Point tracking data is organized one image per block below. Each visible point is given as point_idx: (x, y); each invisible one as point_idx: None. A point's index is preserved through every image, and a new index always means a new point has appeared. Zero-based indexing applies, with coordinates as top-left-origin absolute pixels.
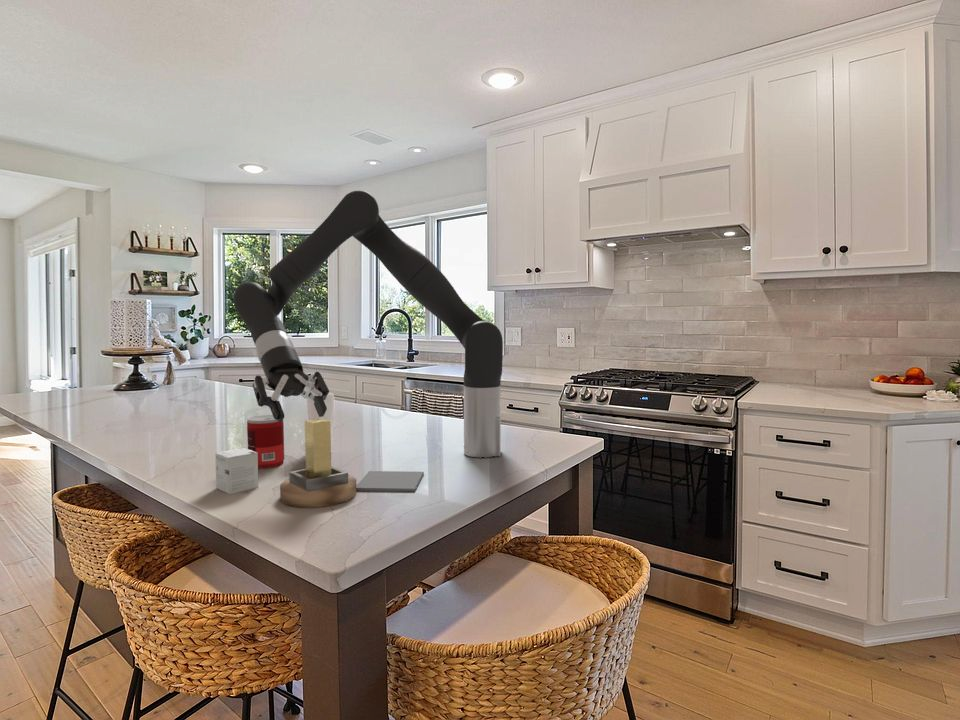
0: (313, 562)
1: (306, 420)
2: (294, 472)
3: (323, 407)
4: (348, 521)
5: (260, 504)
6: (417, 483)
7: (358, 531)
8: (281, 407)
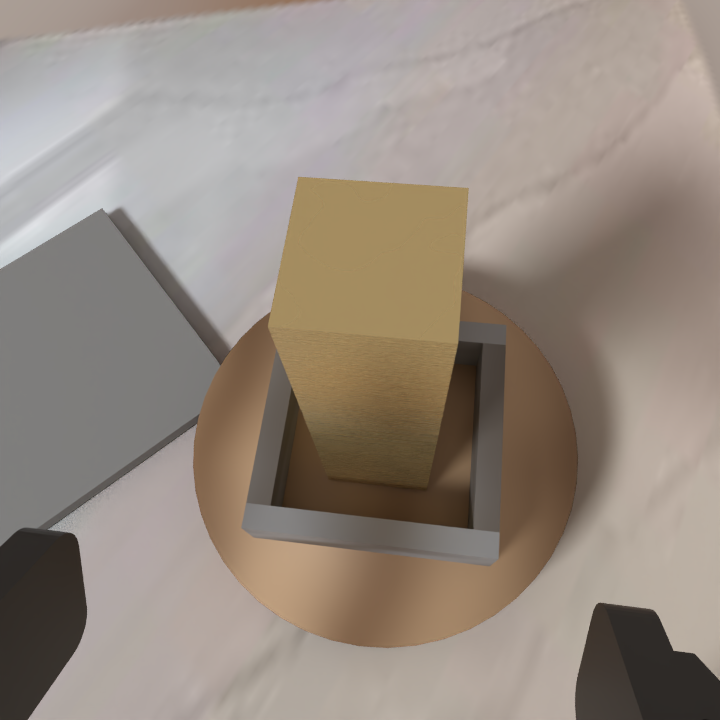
0: (685, 16)
1: (440, 336)
2: (480, 523)
3: (6, 555)
4: (469, 153)
5: (649, 551)
6: (38, 246)
7: (492, 82)
8: (644, 712)
